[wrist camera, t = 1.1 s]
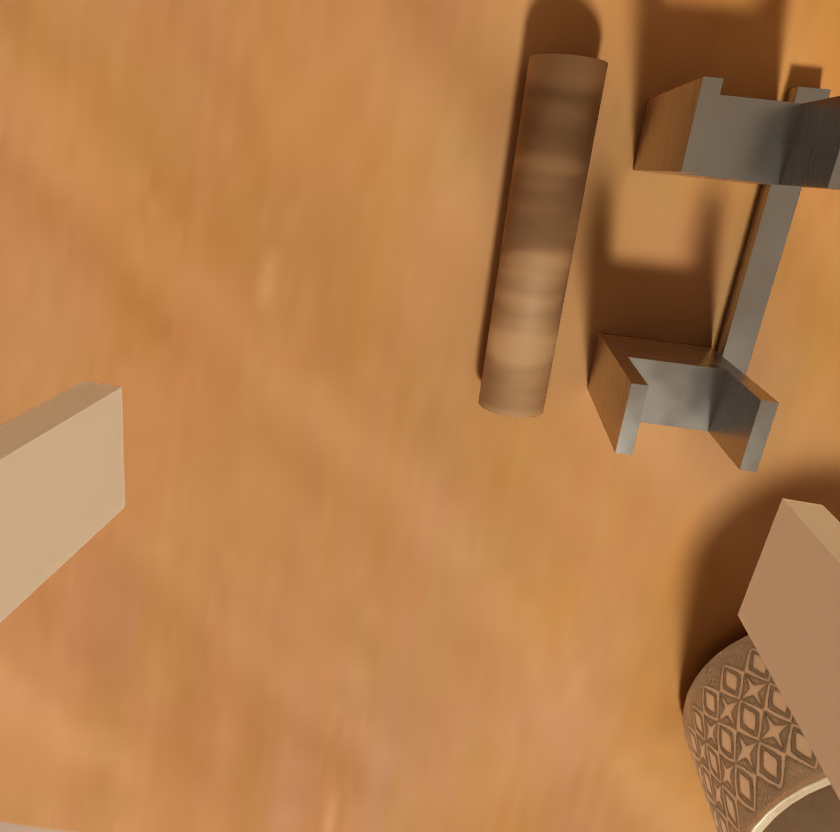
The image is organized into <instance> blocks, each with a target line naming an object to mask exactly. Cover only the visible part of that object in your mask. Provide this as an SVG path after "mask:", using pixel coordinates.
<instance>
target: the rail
mask: <svg viewBox="0 0 840 832" xmlns="http://www.w3.org/2000/svg"><path fill="white" fill-rule="evenodd" d="M607 66H608V63H607V62H606V61H603V60H600V59H597V58H592V57H587V56H580V55H572V54H558V53H542V54H534V55H531V56H529V62H528V69H527V76H526V83H525V90H524V96H523V103H522V110H521V117H520V124H519V130H518V137H517V144H516V151H515V157H514V164H513V171H512V178H511V185H510V191H509V198H508V205H507V212H506V219H505V225H504V232H503V239H502V246H501V252H500V259H499V266H498V273H497V280H496V286H495V293H494V300H493V307H492V313H491V320H490V327H489V334H488V341H487V347H486V354H485V361H484V368H483V375H482V381H481V388H480V395H479V404H480V405H481V406H482V407H483V408H484V409H486V410H488V411H490V412H493V413H496V414H499V415H503V416H508V417H515V418H531V417H536V416H539V415H541V414H542V413H543V410H544V404H545V399H546V393H547V388H548V383H549V377H550V372H551V367H552V361H553V356H554V351H555V345H556V340H557V334H558V329H559V324H560V318H561V313H562V308H563V302H564V297H565V291H566V286H567V281H568V275H569V270H570V265H571V259H572V254H573V249H574V243H575V238H576V232H577V227H578V222H579V216H580V211H581V206H582V200H583V195H584V189H585V184H586V179H587V173H588V168H589V163H590V157H591V152H592V147H593V141H594V136H595V130H596V125H597V120H598V114H599V109H600V104H601V98H602V93H603V87H604V82H605V77H606V71H607Z"/></svg>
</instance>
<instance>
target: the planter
mask: <svg viewBox="0 0 840 832" xmlns="http://www.w3.org/2000/svg"><path fill="white" fill-rule="evenodd" d="M683 726H684V734H685V737H686V740H687V743H688V746H689V749H690V752H691V755H692V758H693V760H694V763H695V766H696V769H697V772H698V775H699V778H700V781H701V784H702V787H703V790H704V793H705V796H706V799H707V801H708V804H709V807H710V810H711V813H712V816H713V819H714V822H715V825H716V828H717V831H718V832H840V800H839V798H838V796H837V795H836V793H835V791H834V789H833V787H832V785H831V784H830V782H829V780H828V778H827V776H826V775H825V773H824V771H823V769H822V767H821V765H820V764H819V762H818V760H817V758H816V756H815V755H814V753H813V751H812V749H811V747H810V746H809V744H808V742H807V740H806V738H805V736H804V735H803V733H802V731H801V729H800V727H799V726H798V724H797V722H796V720H795V718H794V716H793V715H792V713H791V711H790V709H789V707H788V706H787V704H786V702H785V700H784V698H783V696H782V695H781V693H780V691H779V689H778V687H777V686H776V684H775V682H774V680H773V678H772V677H771V675H770V673H769V671H768V669H767V667H766V666H765V664H764V662H763V660H762V658H761V657H760V655H759V653H758V651H757V649H756V647H755V646H754V644H753V642H752V640H751V638H750V637H749V635H747V636H745V637H743V638H741V639H740V640H738V641H736V642H734V643H732V644H730V645H729V646H728V647H726V648H725V649H723V650H722V651H721V652H719V653H718V654H717V655H715V656H714V657H713V658H712V659H711V660H710V661H709V662H708V663H707V664H706V665H705V666H704V667H703V669H702V670H701V671H700V673H699V674H698V675H697V677H696V678H695V679H694V681H693V683H692V685H691V687H690V689H689V691H688V693H687V697H686V701H685V704H684V710H683Z"/></svg>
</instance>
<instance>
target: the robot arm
mask: <svg viewBox="0 0 840 832" xmlns="http://www.w3.org/2000/svg"><path fill="white" fill-rule="evenodd" d="M124 507H125V488H124V450H123V412H122V387H119V386H113V385H107V384H101V383H95V382H89V381H84V382H82V383H80V384H78V385H76V386H74V387H72V388H70V389H68V390H67V391H65V392H63V393H61V394H59V395H57V396H55V397H53V398H51V399H49V400H48V401H46V402H44V403H42V404H40V405H38V406H36V407H34V408H32V409H30V410H29V411H27V412H25V413H23V414H21V415H19V416H17V417H15V418H13V419H11V420H10V421H8V422H6V423H4V424H2V425H0V622H2V621H3V620H4V619H5V618H6V617H7V616H8V615H9V614H10V613H11V612H12V611H13V610H14V609H16V608H17V607H18V606H19V605H20V604H21V603H22V602H23V601H24V600H25V599H26V598H27V597H28V596H30V595H31V594H32V593H33V592H34V591H35V590H36V589H37V588H38V587H39V586H40V585H41V584H42V583H44V582H45V581H46V580H47V579H48V578H49V577H50V576H51V575H52V574H53V573H54V572H55V571H56V570H58V569H59V568H60V567H61V566H62V565H63V564H64V563H65V562H66V561H67V560H68V559H69V558H70V557H72V556H73V555H74V554H75V553H76V552H77V551H78V550H79V549H80V548H81V547H82V546H83V545H85V544H86V543H87V542H88V541H89V540H90V539H91V538H92V537H93V536H94V535H95V534H96V533H97V532H99V531H100V530H101V529H102V528H103V527H104V526H105V525H106V524H107V523H108V522H109V521H110V520H111V519H113V518H114V517H115V516H116V515H117V514H118V513H119V512H120V511H121V510H122V509H123V508H124ZM738 617H739V618H740V620H741V622H742V624H743V626H744V627H745V629H746V631H747V633H748V635H749V637H750V638H751V640H752V642H753V644H754V646H755V647H756V649H757V651H758V653H759V655H760V657H761V658H762V660H763V662H764V664H765V666H766V667H767V669H768V671H769V673H770V675H771V677H772V678H773V680H774V682H775V684H776V686H777V687H778V689H779V691H780V693H781V695H782V696H783V698H784V700H785V702H786V704H787V706H788V707H789V709H790V711H791V713H792V715H793V716H794V718H795V720H796V722H797V724H798V726H799V727H800V729H801V731H802V733H803V735H804V736H805V738H806V740H807V742H808V744H809V746H810V747H811V749H812V751H813V753H814V755H815V756H816V758H817V760H818V762H819V764H820V765H821V767H822V769H823V771H824V773H825V775H826V776H827V778H828V780H829V782H830V784H831V785H832V787H833V789H834V791H835V793H836V795H837V796H838V798H839V800H840V522H839V521H838V520H837V519H836V518H835V517H834V516H833V515H832V514H831V513H830V512H829V511H828V510H827V509H826V508H825V507H824V506H823V505H820V504H814V503H808V502H802V501H796V500H790V499H784V498H782V500H781V503H780V506H779V508H778V511H777V513H776V516H775V519H774V521H773V524H772V527H771V529H770V532H769V534H768V537H767V540H766V542H765V545H764V547H763V550H762V553H761V555H760V558H759V561H758V563H757V566H756V568H755V571H754V574H753V576H752V579H751V581H750V584H749V587H748V589H747V592H746V595H745V597H744V600H743V602H742V605H741V608H740V610H739V613H738Z"/></svg>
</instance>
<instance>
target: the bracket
mask: <svg viewBox="0 0 840 832" xmlns="http://www.w3.org/2000/svg"><path fill="white" fill-rule="evenodd" d="M723 80H724V78H715V77H705V76H703V77H701V78H698V79H696V80H694V81H691V82H689V83H686V84H684V85H682V86H679V87H677V88H674V89H672V90H670V91H667V92H665V93H662V94H660V95H658V96H655V97H653V98H650V99H648V102H647V107H646V112H645V117H644V121H643V126H642V131H641V136H640V140H639V145H638V150H637V155H636V160H635V164H634V169H633V170H637V171H646V172H654V173H663V174H672V175H681V176H690V177H699V178H707V179H716V180H725V181H734V182H743V183H752V184H762V188H761V191H760V195H759V199H758V202H757V206H756V209H755V213H754V216H753V220H752V224H751V227H750V231H749V234H748V238H747V242H746V245H745V249H744V252H743V256H742V260H741V263H740V267H739V270H738V274H737V278H736V281H735V285H734V288H733V292H732V296H731V299H730V303H729V306H728V310H727V314H726V317H725V321H724V324H723V328H722V332H721V335H720V339H719V342H718V346H717V350H716V351H715V350H714V349H713V348H712V347H704V346H696V345H688V344H680V343H672V342H664V341H656V340H649V339H641V338H633V337H625V336H617V335H609V334H601V333H599V336H598V341H597V346H596V350H595V355H594V360H593V365H592V369H591V374H590V379H589V384H588V391H589V393H590V396H591V398H592V400H593V403H594V405H595V407H596V409H597V412H598V414H599V416H600V419H601V421H602V423H603V426H604V428H605V430H606V432H607V435H608V437H609V439H610V442H611V444H612V446H613V449H614V451H615V453H621V454H629V455H632V452H633V448H634V444H635V440H636V436H637V431H638V427H639V423H640V422H643V423H651V424H658V425H666V426H673V427H681V428H688V429H696V430H703V431H708V432H709V433H710V434H711V435H712V437H713V438H714V439H715V440H716V441H717V443H718V444H719V445H720V446H721V448H722V449H723V450H724V451H725V452H726V454H727V455H728V456H729V457H730V459H731V460H732V461H733V462H734V463H735V465H736V466H737V467H738V468H739V470H746V471H753V472H757V468H758V465H759V462H760V459H761V456H762V453H763V450H764V447H765V444H766V441H767V437H768V434H769V431H770V428H771V425H772V422H773V419H774V416H775V413H776V410H777V407H778V403H779V402H777V401H776V400H775V399H774V398H773V397H771V396H770V395H769V394H768V393H766V392H765V391H764V390H763V389H762V388H760V387H759V386H758V385H757V384H756V383H754V382H753V381H752V380H751V379H749V378H748V377H747V376H746V372H747V369H748V365H749V362H750V359H751V355H752V352H753V349H754V345H755V342H756V339H757V335H758V332H759V329H760V325H761V322H762V318H763V315H764V312H765V308H766V305H767V302H768V298H769V295H770V292H771V288H772V285H773V282H774V278H775V275H776V272H777V268H778V265H779V262H780V258H781V255H782V252H783V248H784V245H785V242H786V238H787V235H788V232H789V228H790V225H791V221H792V218H793V215H794V211H795V208H796V205H797V201H798V198H799V195H800V191H801V188H802V187H805V188H819V189H833V190H840V96H837V97H832V98H829V94H830V91H831V90H828V89H818V88H809V87H795V88H791V89H789V91H788V94H787V98H786V101H785V102H784V101H774V100H765V99H755V98H746V97H737V96H727V95H720V92H721V88H722V84H723Z"/></svg>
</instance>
